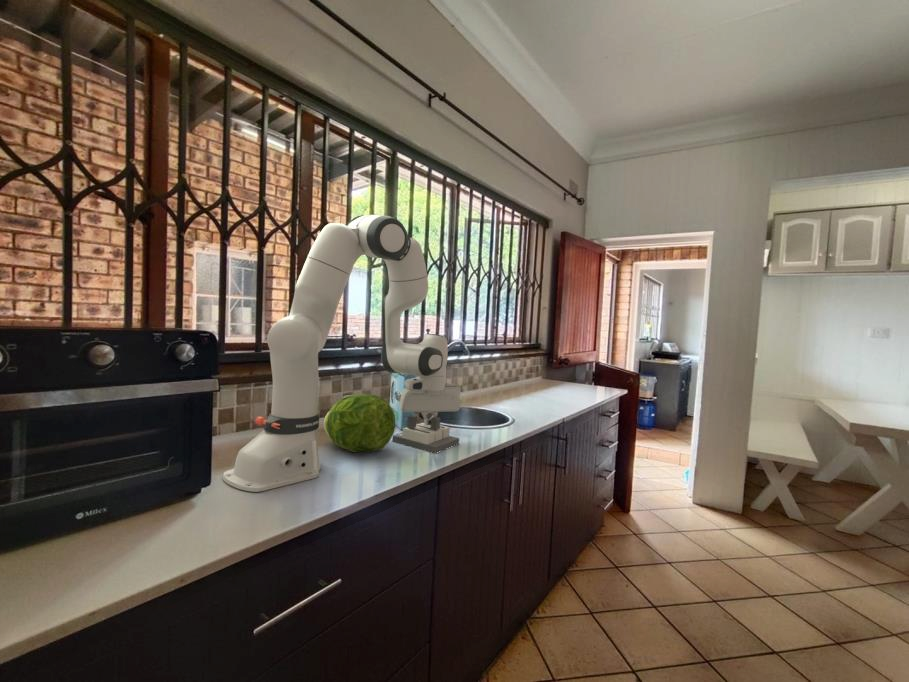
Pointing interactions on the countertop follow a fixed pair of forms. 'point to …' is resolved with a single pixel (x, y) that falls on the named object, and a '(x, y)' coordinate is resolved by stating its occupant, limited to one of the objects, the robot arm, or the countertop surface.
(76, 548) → the countertop surface
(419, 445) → the breaker panel
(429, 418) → the breaker
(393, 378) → the gum box
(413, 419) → the breaker
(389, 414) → the lettuce
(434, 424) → the block
